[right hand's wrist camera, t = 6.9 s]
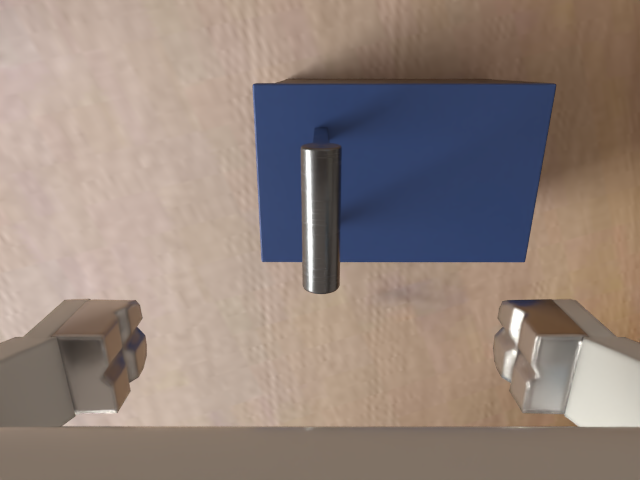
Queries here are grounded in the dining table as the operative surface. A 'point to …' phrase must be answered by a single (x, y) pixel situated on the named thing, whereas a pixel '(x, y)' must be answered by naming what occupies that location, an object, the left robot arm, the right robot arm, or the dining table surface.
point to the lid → (397, 172)
